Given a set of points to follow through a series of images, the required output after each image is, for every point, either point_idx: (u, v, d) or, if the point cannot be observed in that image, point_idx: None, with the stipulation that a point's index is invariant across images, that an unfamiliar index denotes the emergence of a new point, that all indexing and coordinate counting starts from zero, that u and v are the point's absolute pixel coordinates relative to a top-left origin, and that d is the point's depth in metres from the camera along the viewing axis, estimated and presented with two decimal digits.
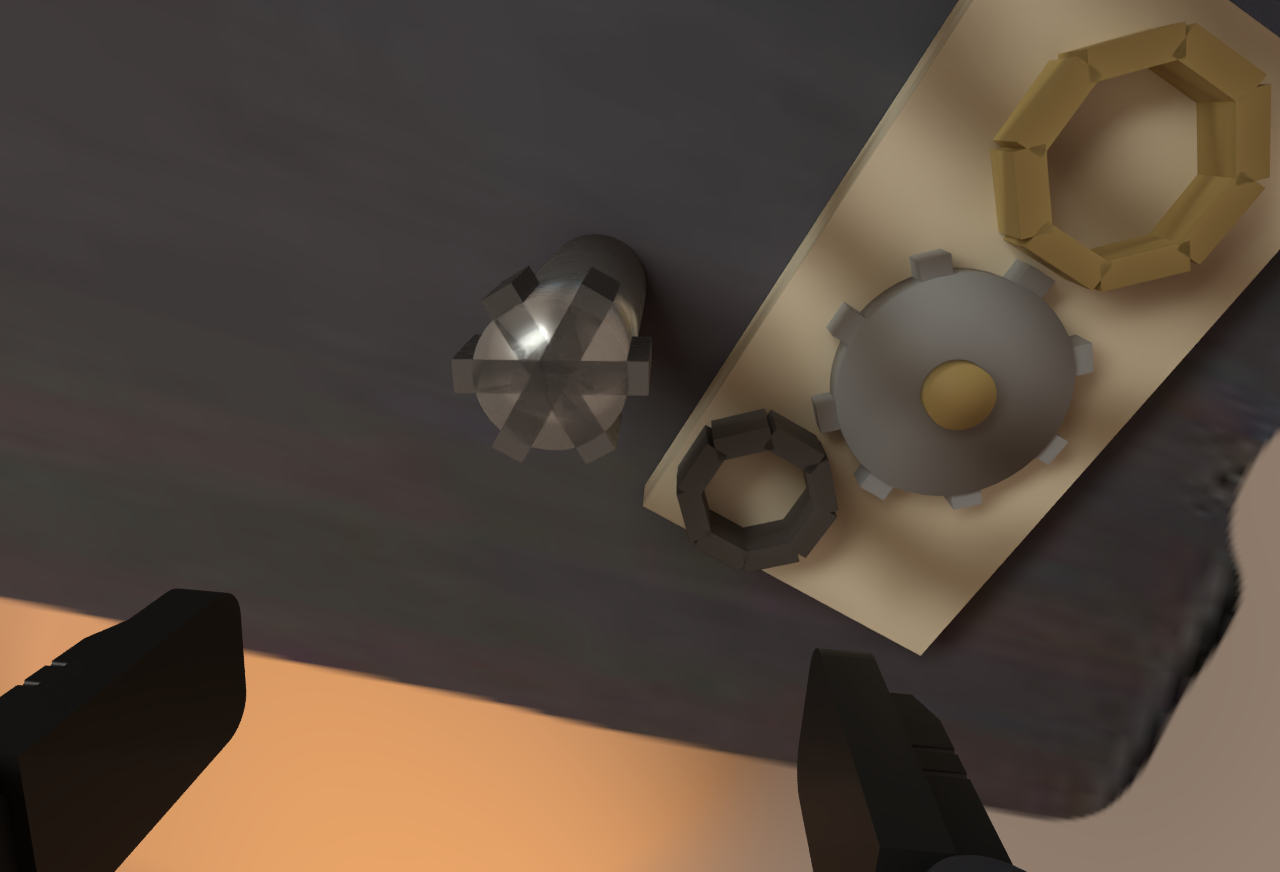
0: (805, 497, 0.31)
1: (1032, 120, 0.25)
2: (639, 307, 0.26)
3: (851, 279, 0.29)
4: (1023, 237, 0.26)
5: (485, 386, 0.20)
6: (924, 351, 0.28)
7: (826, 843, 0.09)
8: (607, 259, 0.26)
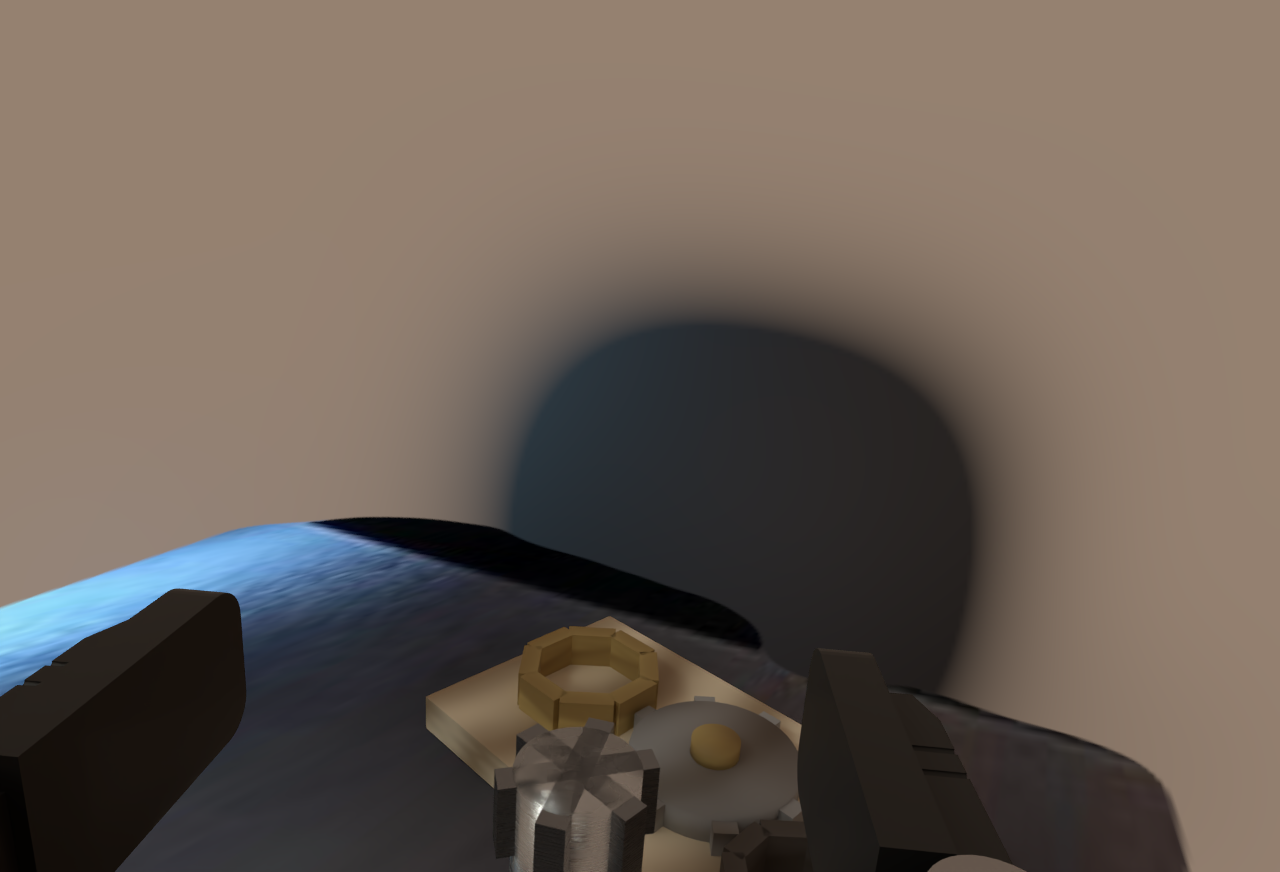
0: (808, 869, 0.33)
1: (545, 694, 0.41)
2: None
3: None
4: (613, 704, 0.41)
5: (568, 808, 0.23)
6: (680, 763, 0.38)
7: (826, 843, 0.09)
8: None
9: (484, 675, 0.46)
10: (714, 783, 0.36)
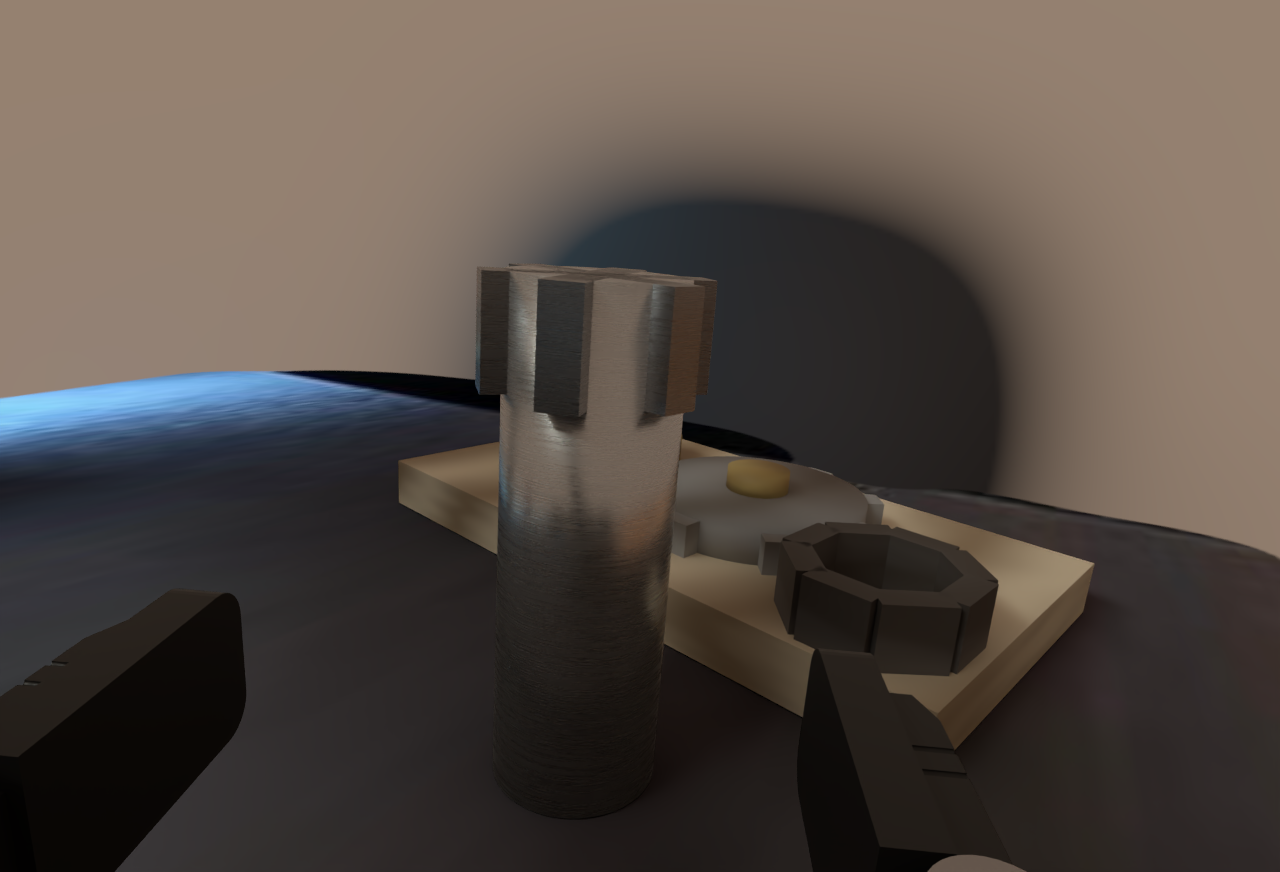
0: (889, 579, 0.26)
1: None
2: None
3: None
4: None
5: (588, 279, 0.15)
6: (714, 492, 0.30)
7: (826, 843, 0.09)
8: None
9: (470, 449, 0.38)
10: (760, 506, 0.29)
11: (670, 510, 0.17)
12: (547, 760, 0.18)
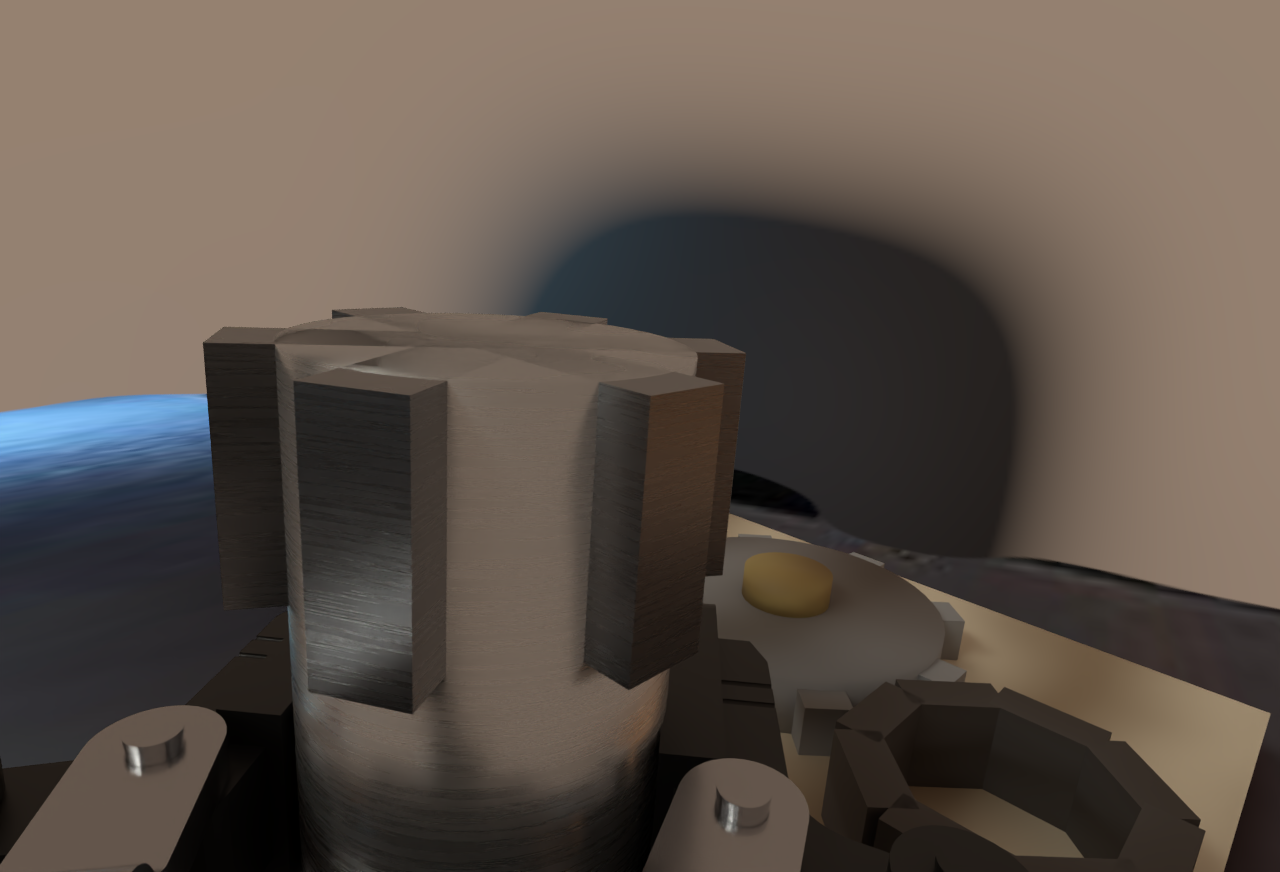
0: (996, 773, 0.17)
1: None
2: None
3: None
4: None
5: (441, 372, 0.06)
6: (726, 607, 0.21)
7: None
8: None
9: None
10: (792, 635, 0.20)
11: (647, 819, 0.08)
12: None
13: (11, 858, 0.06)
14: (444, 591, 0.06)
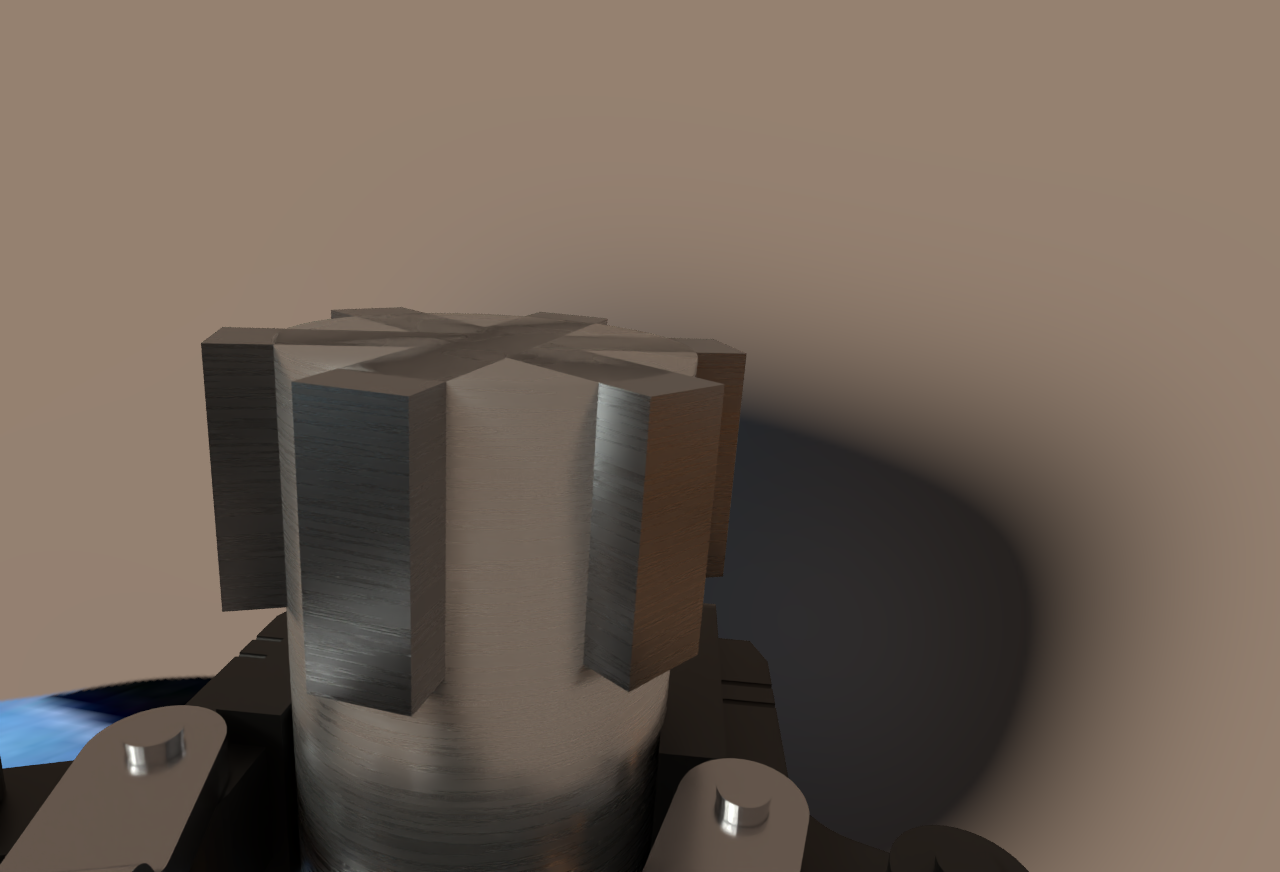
0: None
1: None
2: None
3: None
4: None
5: (439, 372, 0.06)
6: None
7: None
8: None
9: None
10: None
11: (647, 821, 0.08)
12: None
13: (10, 858, 0.06)
14: (443, 593, 0.06)
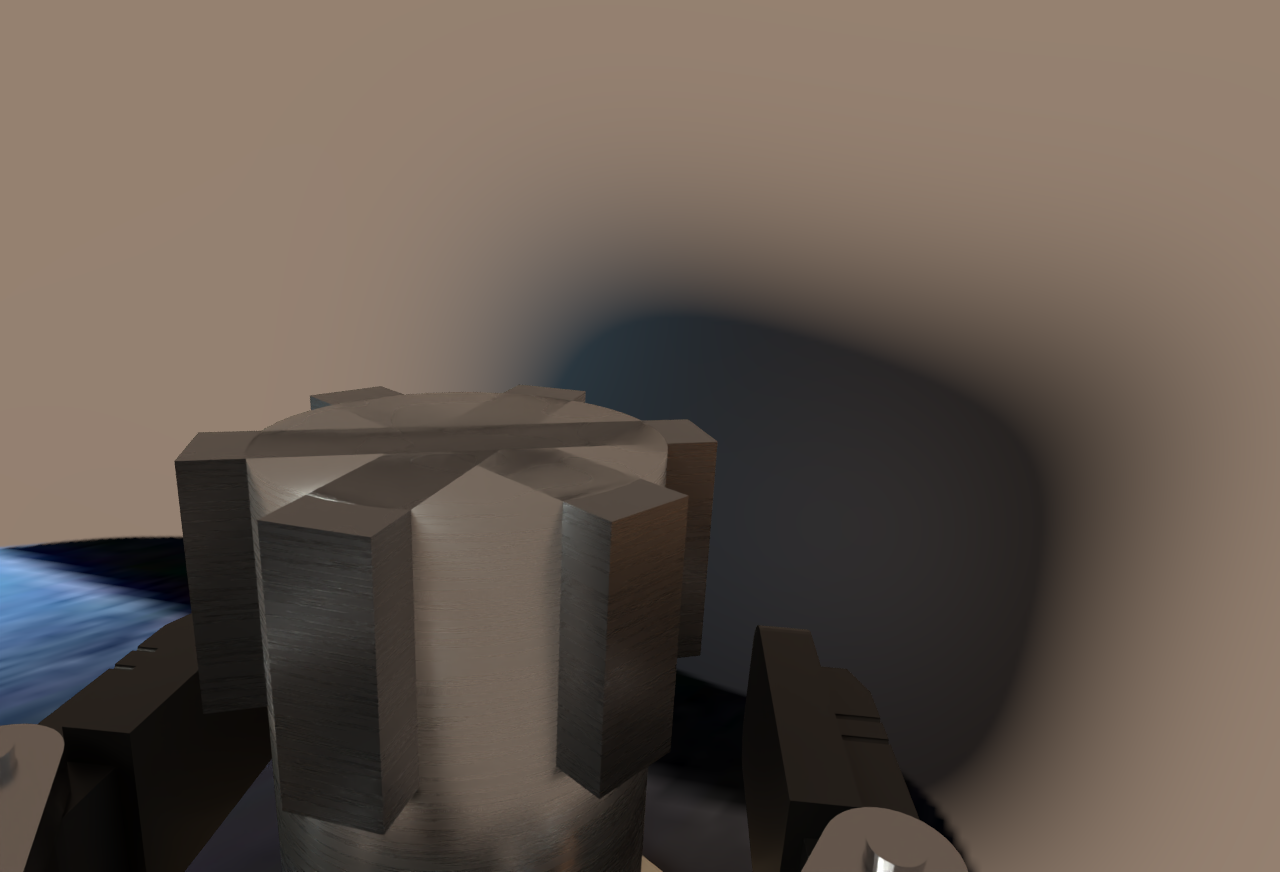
0: None
1: None
2: None
3: None
4: None
5: (406, 495, 0.06)
6: None
7: (758, 807, 0.09)
8: None
9: None
10: None
11: None
12: None
13: None
14: (414, 710, 0.06)
